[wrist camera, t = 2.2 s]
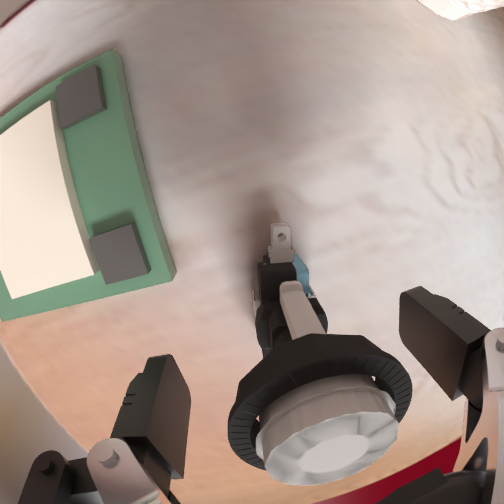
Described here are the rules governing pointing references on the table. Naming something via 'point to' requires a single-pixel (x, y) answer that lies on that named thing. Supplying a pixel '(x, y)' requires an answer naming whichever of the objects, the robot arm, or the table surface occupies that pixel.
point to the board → (76, 196)
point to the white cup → (460, 7)
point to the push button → (312, 384)
